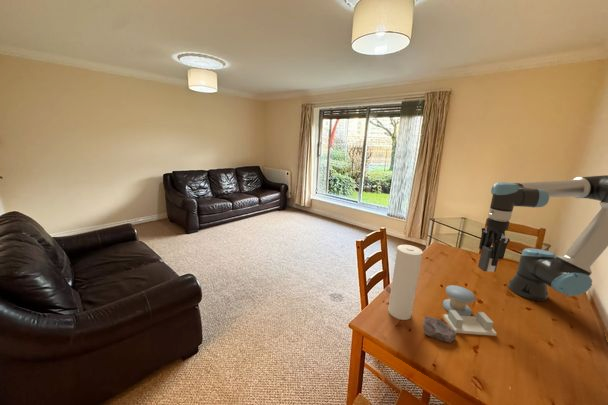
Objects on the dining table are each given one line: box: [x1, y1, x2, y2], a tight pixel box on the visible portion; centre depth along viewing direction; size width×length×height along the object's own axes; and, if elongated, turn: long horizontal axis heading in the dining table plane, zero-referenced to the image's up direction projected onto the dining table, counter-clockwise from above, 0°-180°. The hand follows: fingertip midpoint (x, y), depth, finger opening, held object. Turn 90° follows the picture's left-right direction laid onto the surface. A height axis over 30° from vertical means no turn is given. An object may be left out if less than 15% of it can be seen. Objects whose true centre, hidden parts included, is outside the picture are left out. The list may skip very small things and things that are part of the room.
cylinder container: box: [387, 244, 424, 321], centre depth 103 cm, size 9×9×30 cm
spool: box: [442, 284, 476, 316], centre depth 110 cm, size 11×11×8 cm
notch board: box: [442, 310, 497, 337], centre depth 100 cm, size 16×9×5 cm, turn 87°
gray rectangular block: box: [477, 246, 499, 273], centre depth 109 cm, size 5×4×10 cm
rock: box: [422, 316, 457, 343], centre depth 95 cm, size 8×11×5 cm
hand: (486, 268), depth 110 cm, fingers closed on gray rectangular block, 4 cm apart
